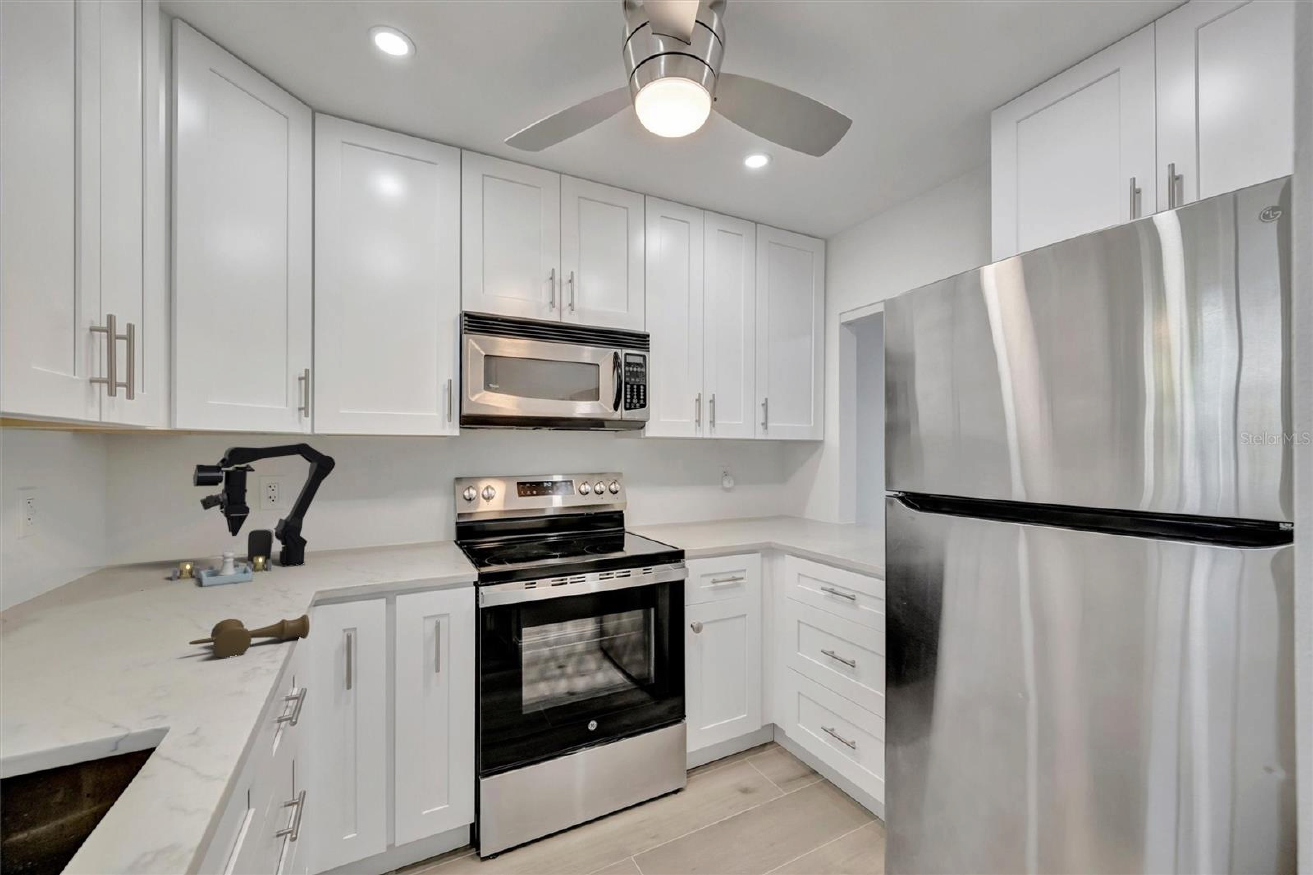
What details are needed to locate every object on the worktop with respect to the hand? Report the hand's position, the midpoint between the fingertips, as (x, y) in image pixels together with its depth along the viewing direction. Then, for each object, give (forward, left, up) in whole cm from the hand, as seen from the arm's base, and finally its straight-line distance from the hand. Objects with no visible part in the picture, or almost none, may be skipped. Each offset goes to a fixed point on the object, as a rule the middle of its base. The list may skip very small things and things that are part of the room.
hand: (232, 534), depth 174 cm
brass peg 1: (+11, +3, -12) cm, 17 cm away
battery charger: (-9, -12, -12) cm, 19 cm away
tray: (+2, +13, -12) cm, 18 cm away
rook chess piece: (+2, +13, -12) cm, 18 cm away
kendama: (+3, +81, -12) cm, 82 cm away
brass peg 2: (-7, +3, -12) cm, 14 cm away
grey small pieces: (+2, +3, -12) cm, 13 cm away
